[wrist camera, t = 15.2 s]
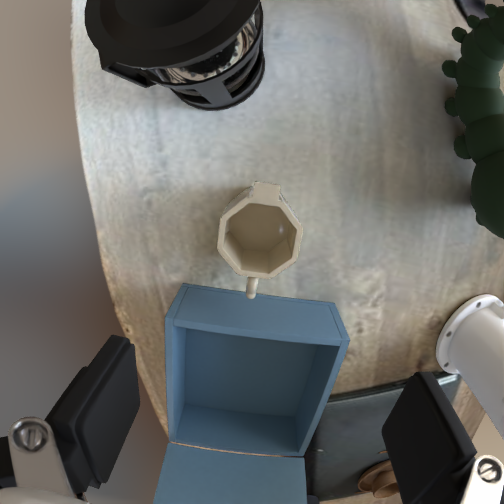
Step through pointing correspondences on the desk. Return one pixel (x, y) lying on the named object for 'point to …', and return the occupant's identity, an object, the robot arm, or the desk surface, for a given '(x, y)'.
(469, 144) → the toy figurine
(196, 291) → the chest
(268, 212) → the jug
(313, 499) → the travel mug
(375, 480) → the place setting
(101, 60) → the french press
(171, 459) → the lid
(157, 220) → the desk surface
